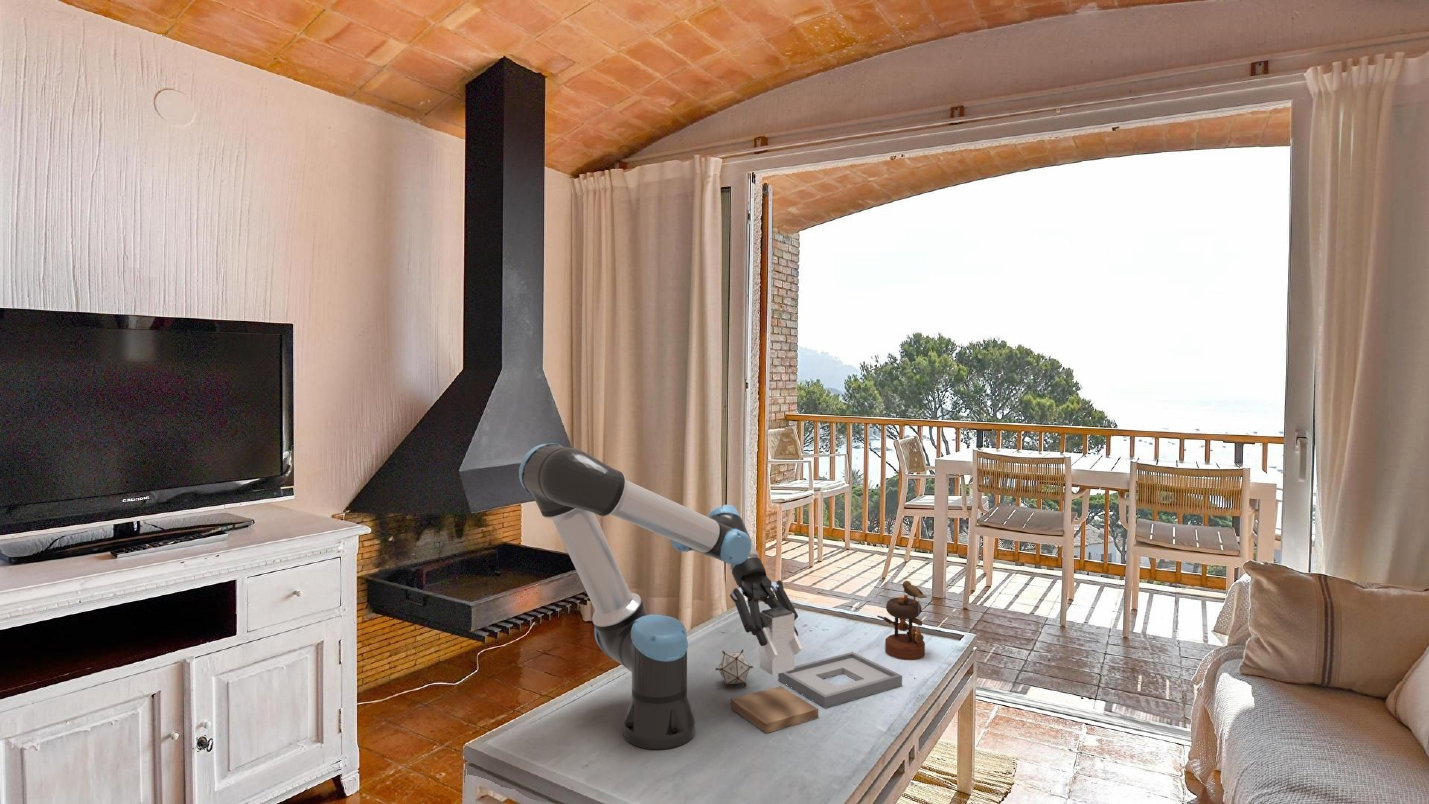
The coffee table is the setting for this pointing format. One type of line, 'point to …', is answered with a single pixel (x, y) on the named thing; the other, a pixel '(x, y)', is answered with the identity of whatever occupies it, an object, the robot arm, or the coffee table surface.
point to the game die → (734, 668)
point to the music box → (905, 625)
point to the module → (778, 640)
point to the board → (774, 709)
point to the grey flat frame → (851, 664)
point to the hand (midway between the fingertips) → (786, 654)
